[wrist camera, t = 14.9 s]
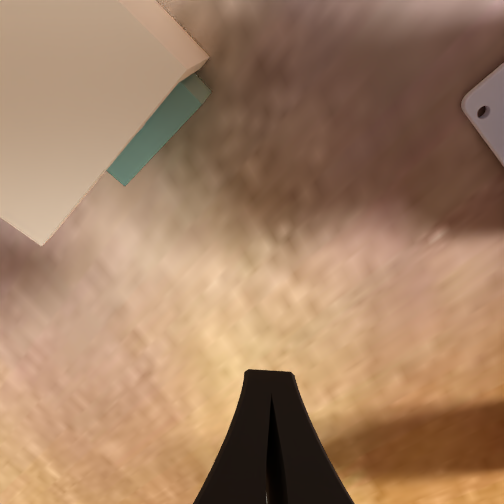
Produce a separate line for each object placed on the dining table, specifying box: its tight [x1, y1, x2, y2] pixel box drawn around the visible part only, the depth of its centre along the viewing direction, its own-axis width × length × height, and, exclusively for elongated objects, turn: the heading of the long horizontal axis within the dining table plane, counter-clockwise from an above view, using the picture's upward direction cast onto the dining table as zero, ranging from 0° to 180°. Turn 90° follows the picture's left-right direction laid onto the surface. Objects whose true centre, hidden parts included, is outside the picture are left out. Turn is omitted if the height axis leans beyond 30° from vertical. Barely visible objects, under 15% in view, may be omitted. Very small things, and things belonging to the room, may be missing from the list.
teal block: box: [106, 73, 212, 186], centre depth 15 cm, size 8×4×4 cm, turn 43°
